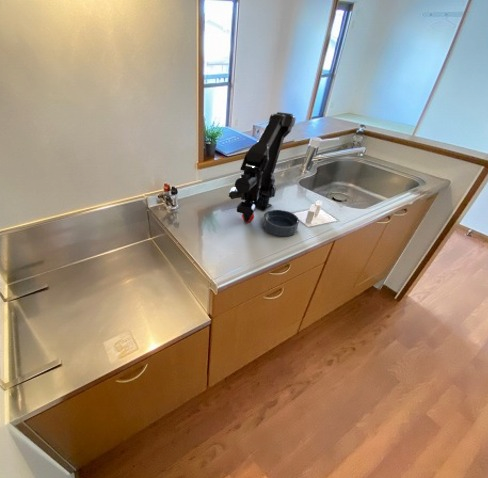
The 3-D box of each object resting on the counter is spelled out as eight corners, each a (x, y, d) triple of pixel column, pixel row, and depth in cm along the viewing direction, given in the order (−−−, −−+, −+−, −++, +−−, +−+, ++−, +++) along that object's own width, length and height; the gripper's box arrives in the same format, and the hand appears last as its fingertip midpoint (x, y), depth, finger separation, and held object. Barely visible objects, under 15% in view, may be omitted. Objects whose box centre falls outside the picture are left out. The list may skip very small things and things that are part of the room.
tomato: (246, 216, 116) (247, 205, 113) (255, 220, 113) (257, 210, 110) (238, 220, 113) (240, 209, 110) (248, 225, 110) (250, 214, 107)
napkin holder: (308, 227, 109) (312, 214, 106) (291, 213, 118) (294, 201, 114) (337, 220, 113) (342, 208, 110) (318, 207, 122) (322, 196, 119)
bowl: (273, 215, 116) (275, 206, 114) (302, 227, 109) (305, 218, 106) (256, 227, 109) (257, 218, 106) (285, 241, 101) (288, 231, 99)
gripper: (238, 171, 112) (235, 204, 122) (225, 189, 99) (222, 225, 108) (265, 175, 109) (259, 209, 118) (255, 195, 95) (249, 231, 104)
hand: (247, 218), depth 112 cm, fingers closed on tomato, 5 cm apart
